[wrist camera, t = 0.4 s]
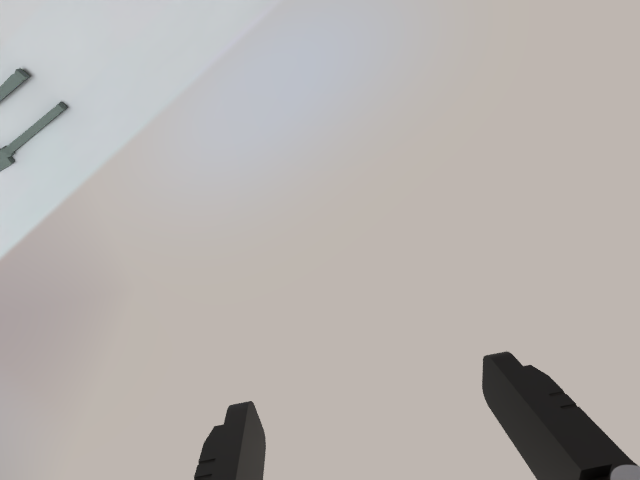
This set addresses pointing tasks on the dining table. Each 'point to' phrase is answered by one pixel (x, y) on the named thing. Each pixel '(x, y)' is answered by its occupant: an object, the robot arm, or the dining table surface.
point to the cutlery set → (4, 155)
